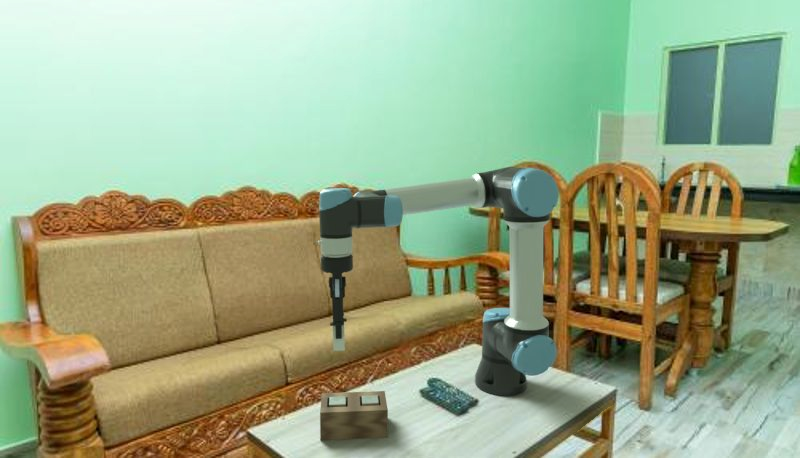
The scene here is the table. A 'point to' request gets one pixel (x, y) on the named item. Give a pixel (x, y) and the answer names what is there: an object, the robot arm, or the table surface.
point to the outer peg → (337, 401)
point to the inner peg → (370, 400)
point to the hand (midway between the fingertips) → (339, 349)
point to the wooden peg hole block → (353, 417)
